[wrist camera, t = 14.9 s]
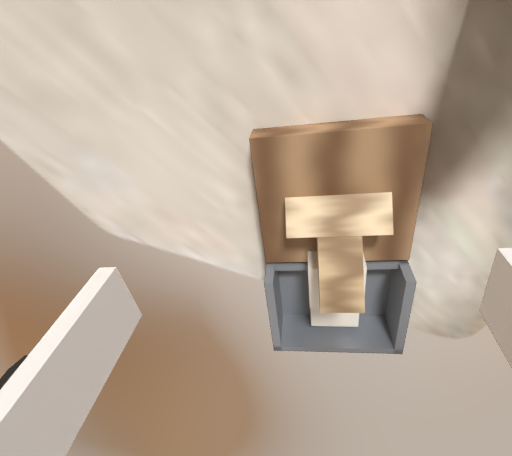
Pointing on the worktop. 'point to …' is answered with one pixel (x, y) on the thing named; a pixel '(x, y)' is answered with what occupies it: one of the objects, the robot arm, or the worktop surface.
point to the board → (340, 177)
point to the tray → (338, 337)
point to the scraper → (340, 241)
